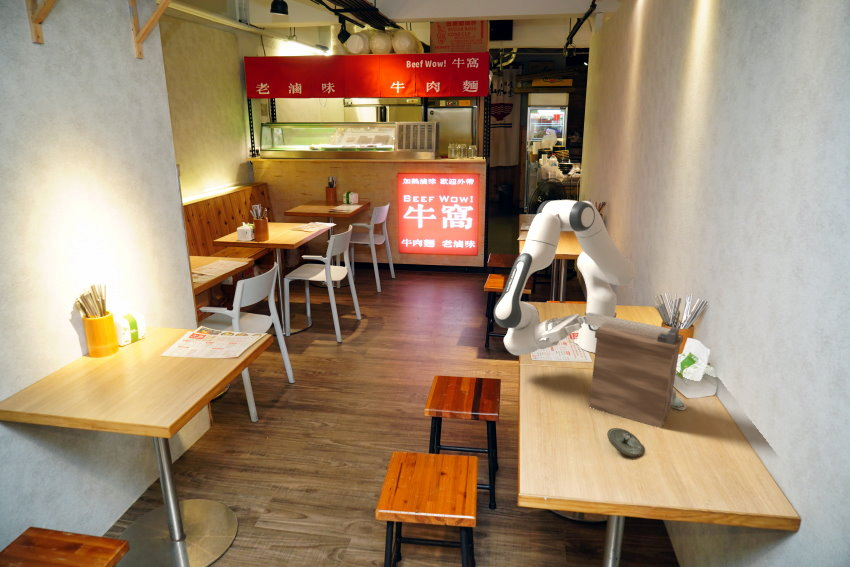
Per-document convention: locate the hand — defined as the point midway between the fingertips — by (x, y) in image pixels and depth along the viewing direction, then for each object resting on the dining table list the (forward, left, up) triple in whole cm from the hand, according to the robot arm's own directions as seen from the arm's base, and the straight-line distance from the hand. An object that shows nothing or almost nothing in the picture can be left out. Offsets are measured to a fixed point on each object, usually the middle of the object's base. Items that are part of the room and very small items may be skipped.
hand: (585, 321), depth 186 cm
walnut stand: (0, +17, -26) cm, 31 cm away
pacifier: (-12, +29, -27) cm, 41 cm away
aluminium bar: (0, +13, 0) cm, 13 cm away
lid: (+24, +22, -26) cm, 42 cm away
